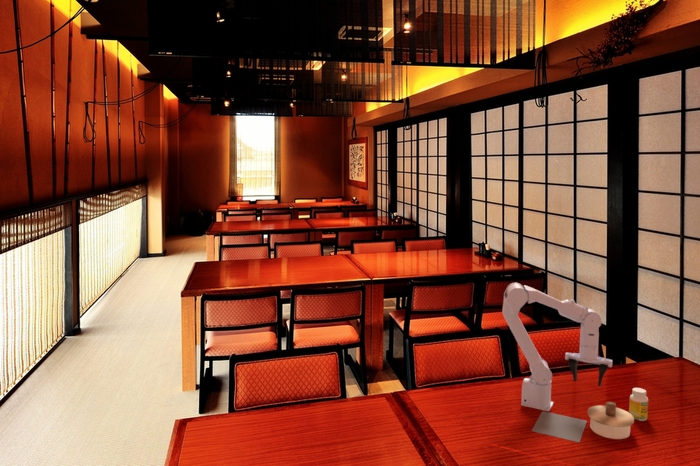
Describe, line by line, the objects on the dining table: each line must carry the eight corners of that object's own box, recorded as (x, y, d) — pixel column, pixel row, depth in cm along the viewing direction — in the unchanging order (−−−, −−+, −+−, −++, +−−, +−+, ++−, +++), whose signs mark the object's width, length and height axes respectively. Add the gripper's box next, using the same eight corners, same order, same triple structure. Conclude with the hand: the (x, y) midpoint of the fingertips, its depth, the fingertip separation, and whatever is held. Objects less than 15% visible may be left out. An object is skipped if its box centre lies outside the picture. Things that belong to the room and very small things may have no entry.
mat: (531, 432, 163) (531, 430, 163) (542, 412, 177) (542, 410, 177) (579, 443, 156) (579, 442, 156) (587, 422, 170) (587, 420, 170)
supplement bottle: (634, 412, 176) (635, 385, 175) (650, 418, 172) (652, 390, 170) (625, 416, 173) (627, 389, 172) (641, 423, 169) (643, 394, 168)
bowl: (588, 435, 162) (588, 419, 161) (593, 420, 171) (593, 406, 170) (628, 444, 156) (629, 428, 155) (630, 429, 165) (631, 414, 165)
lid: (584, 420, 161) (585, 406, 160) (591, 404, 172) (591, 391, 171) (632, 431, 154) (632, 416, 153) (635, 413, 165) (636, 400, 164)
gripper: (564, 344, 177) (562, 382, 179) (611, 351, 169) (609, 391, 171) (567, 338, 183) (566, 375, 184) (613, 345, 175) (611, 384, 177)
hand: (587, 382), depth 178 cm, fingers open, 7 cm apart
